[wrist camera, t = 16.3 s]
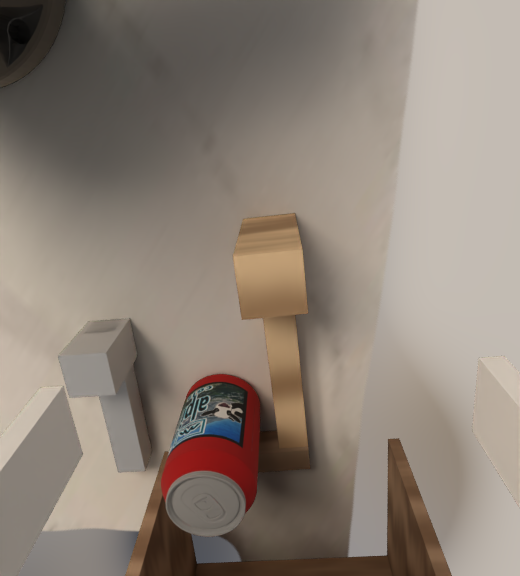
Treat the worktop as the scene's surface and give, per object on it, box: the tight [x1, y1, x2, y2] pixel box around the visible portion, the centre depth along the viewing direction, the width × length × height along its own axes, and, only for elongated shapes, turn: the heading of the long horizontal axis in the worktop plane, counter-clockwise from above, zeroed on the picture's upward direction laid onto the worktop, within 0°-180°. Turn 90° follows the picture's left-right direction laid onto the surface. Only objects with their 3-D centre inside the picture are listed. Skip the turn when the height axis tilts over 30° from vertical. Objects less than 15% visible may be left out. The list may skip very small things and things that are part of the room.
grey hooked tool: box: [58, 318, 152, 473], centre depth 39 cm, size 14×4×6 cm, turn 5°
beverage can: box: [161, 374, 260, 537], centre depth 36 cm, size 7×7×12 cm
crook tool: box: [233, 213, 310, 473], centre depth 35 cm, size 22×10×10 cm, turn 7°
